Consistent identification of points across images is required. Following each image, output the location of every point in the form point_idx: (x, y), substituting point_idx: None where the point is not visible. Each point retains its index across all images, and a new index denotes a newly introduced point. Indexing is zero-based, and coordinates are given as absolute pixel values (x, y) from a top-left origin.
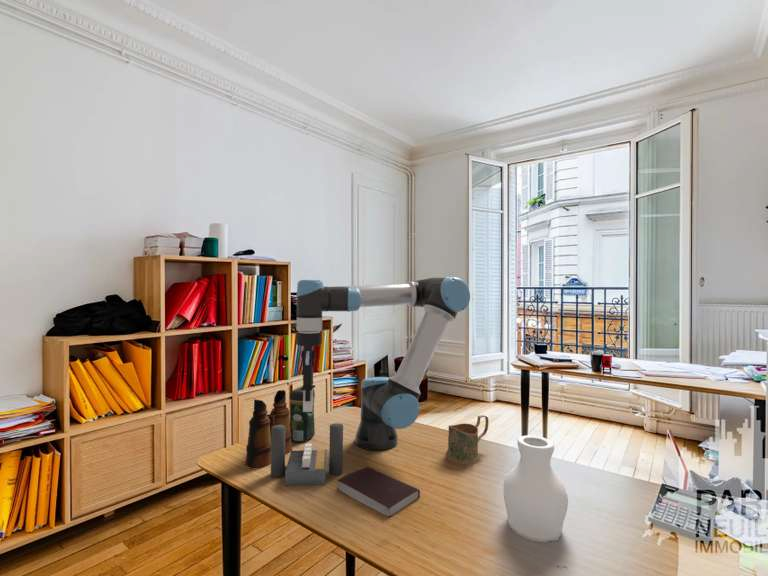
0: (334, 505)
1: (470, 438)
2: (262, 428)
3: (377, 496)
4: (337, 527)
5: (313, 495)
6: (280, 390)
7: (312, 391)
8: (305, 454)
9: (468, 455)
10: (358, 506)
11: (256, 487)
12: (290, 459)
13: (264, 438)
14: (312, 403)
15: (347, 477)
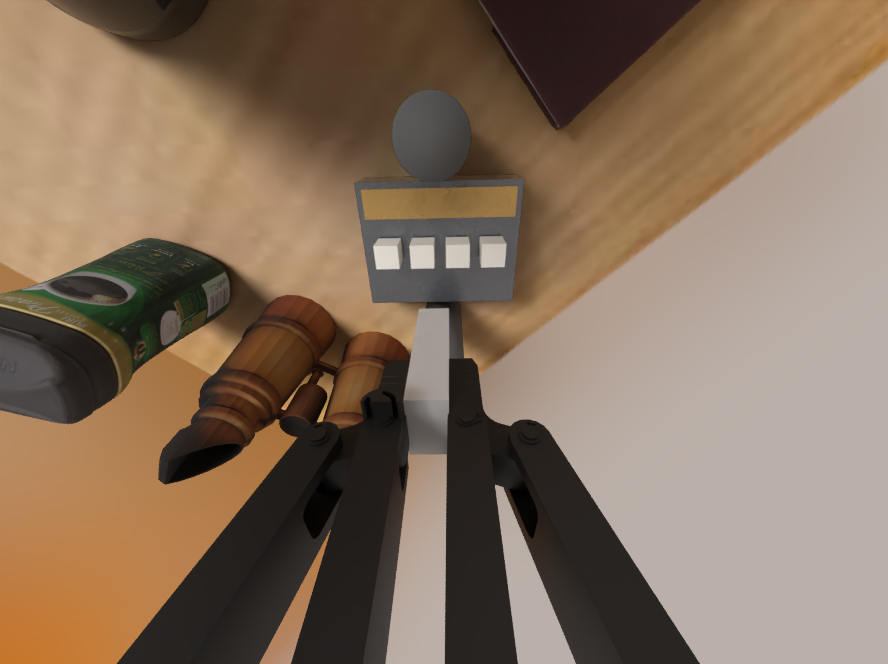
0: (644, 136)
1: None
2: None
3: None
4: (757, 123)
5: (570, 205)
6: (162, 479)
7: (448, 389)
8: (469, 260)
9: None
10: (681, 44)
11: (501, 342)
12: (435, 297)
13: None
14: (430, 331)
15: (557, 84)
